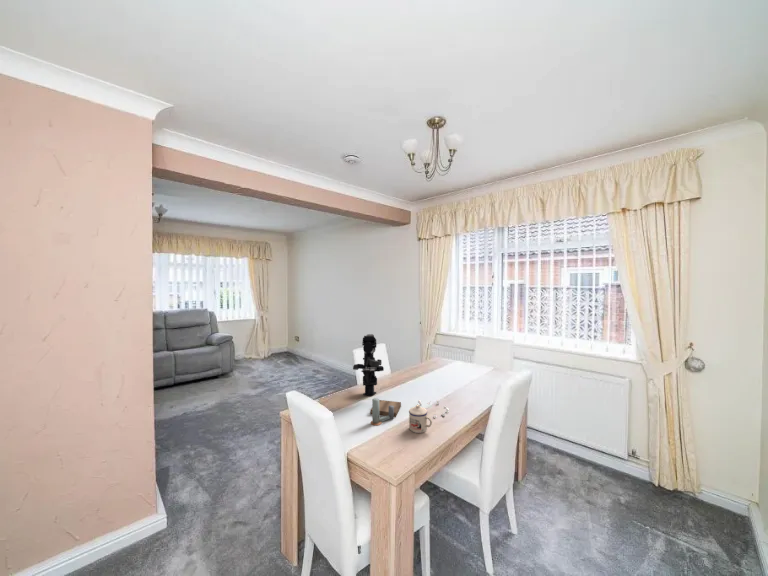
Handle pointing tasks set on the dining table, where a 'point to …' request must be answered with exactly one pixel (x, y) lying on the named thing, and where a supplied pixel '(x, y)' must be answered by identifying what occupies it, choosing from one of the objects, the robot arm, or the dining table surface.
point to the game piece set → (437, 404)
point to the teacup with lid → (418, 419)
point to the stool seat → (386, 409)
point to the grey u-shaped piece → (376, 412)
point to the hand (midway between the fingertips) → (368, 382)
